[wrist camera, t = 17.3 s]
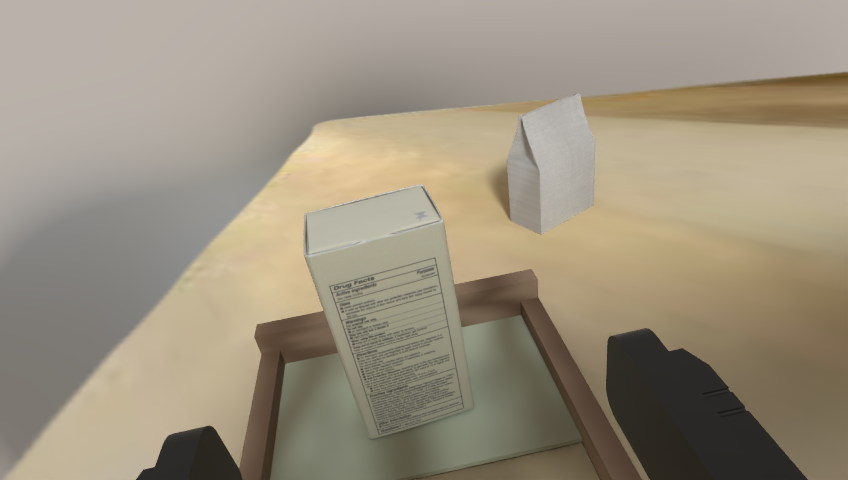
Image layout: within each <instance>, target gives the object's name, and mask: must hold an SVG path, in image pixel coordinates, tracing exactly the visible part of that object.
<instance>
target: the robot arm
mask: <svg viewBox="0 0 848 480" xmlns="http://www.w3.org/2000/svg"><path fill="white" fill-rule="evenodd" d="M606 391H607V397H608V401H609V404H610V407H611V410H612V412H613V415H614V417H615V419H616V421H617V422H618V424H619V426H620V428H621V429H622V431H623V433H624V435H625V436H626V438H627V440H628V442H629V443H630V445H631V447H632V449H633V451H634V452H635V454H636V456H637V458H638V459H639V461H640V463H641V465H642V466H643V468H644V470H645V472H646V473H647V475H648V477H649V479H650V480H808V479H807V478H806V477H805V476H804V475H803V474H802V472H801V471H800V470H799V469H798V468H797V467H796V465H795V464H794V463H793V462H792V461H791V460H790V459H789V457H788V456H787V455H786V454H785V453H784V452H783V450H782V449H781V448H780V447H779V446H778V445H777V443H776V442H775V441H774V440H773V439H772V438H771V436H770V435H769V434H768V433H767V432H766V431H765V429H764V428H763V427H762V426H761V425H760V424H759V422H758V421H757V420H756V419H755V418H754V417H753V415H752V414H751V413H750V412H749V411H746V410H745V406H744V405H743V404H742V403H741V402H740V400H739V399H738V398H737V397H736V396H735V395H734V393H733V392H730V391H729V389H728V386H727V385H726V384H725V383H724V382H723V381H722V379H721V378H720V377H719V376H718V375H717V374H716V372H715V371H714V370H713V369H712V368H711V367H710V365H708V364H707V363H705V362H703V361H702V360H700V359H699V358H697V357H696V356H694V355H692V354H691V353H689V352H688V351H686V350H684V349H683V348H682V349H678V350H673V351H668V350H667V349H666V347H665V346H664V345H663V344H662V342H661V341H660V340H659V338H658V337H657V336H656V335H655V334H654V332H652V331H651V330H650V329H647V328H645V329H640V330H636V331H632V332H627V333H623V334H618V335H614V336H610V337H609V339H608V345H607V376H606ZM136 480H243V479H242V475H241V472H240V470H239V468H238V467H237V465H236V463H235V462H234V460H233V458H232V457H231V455H230V453H229V452H228V450H227V448H226V446H225V445H224V443H223V441H222V440H221V438H220V436H219V435H218V433H217V431H216V430H215V429H214V428H213V427H212V426H206V427H201V428H197V429H192V430H188V431H183V432H179V433H175V434H171V435H169V436H168V437H167V438H166V440H165V441H164V443H163V446H162V449H161V452H160V454H159V457H158V460H157V463H156V466H155V467H153V468H149V469H145V470H143V471H142V472H141V474H140V475H139V476H138V478H137V479H136Z"/></svg>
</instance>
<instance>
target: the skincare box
mask: <svg viewBox="0 0 848 480" xmlns="http://www.w3.org/2000/svg"><path fill="white" fill-rule="evenodd" d="M304 257H305V259H306V262H307V265H308V268H309V270H310V273H311V276H312V279H313V282H314V284H315V287H316V290H317V293H318V296H319V299H320V302H321V305H322V307H323V310H324V313H325V316H326V319H327V322H328V325H329V327H330V330H331V333H332V336H333V339H334V342H335V345H336V348H337V351H338V353H339V356H340V359H341V362H342V365H343V368H344V370H345V373H346V376H347V379H348V382H349V385H350V388H351V390H352V394H353V397H354V400H355V403H356V405H357V408H358V411H359V414H360V416H361V419H362V422H363V425H364V428H365V431H366V434H367V436H368V438H370V439H375V438H378V437H382V436H386V435H389V434H392V433H396V432H399V431H403V430H406V429H409V428H413V427H416V426H419V425H422V424H425V423H429V422H432V421H435V420H438V419H441V418H444V417H448V416H451V415H454V414H457V413H459V412H463V411H466V410H469V409H471V408H473V407H474V400H473V394H472V388H471V382H470V376H469V369H468V364H467V357H466V351H465V346H464V339H463V333H462V328H461V322H460V316H459V310H458V304H457V298H456V292H455V286H454V280H453V274H452V269H451V263H450V257H449V251H448V245H447V238H446V232H445V226H444V221H443V218H442V216H441V214H440V212H439V211H438V209H437V207H436V205H435V203H434V201H433V200H432V198H431V196H430V195H429V193H428V191H427V190H426V189H425V187H424V186H423V185H421V184H420V185H415V186H412V187H407V188H403V189H399V190H396V191H391V192H386V193H383V194H379V195H375V196H371V197H366V198H363V199H359V200H355V201H351V202H348V203H343V204H339V205H335V206H332V207H328V208H324V209H321V210H316V211H312V212H308V213H305V215H304Z"/></svg>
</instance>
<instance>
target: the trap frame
mask: <svg viewBox="0 0 848 480" xmlns="http://www.w3.org/2000/svg"><path fill="white" fill-rule="evenodd" d="M454 286H455V292H456V298H457V304H458V310H459V316H460V322H461V328H462V333H463V339H464V346H465V351H466V357H467V364H468V369H469V376H470V382H471V388H472V394H473V400H474V407H473V408H471V409H469V410H466V411H463V412H459V413H457V414H454V415H451V416H448V417H444V418H441V419H438V420H435V421H432V422H429V423H425V424H422V425H419V426H416V427H413V428H409V429H406V430H403V431H399V432H396V433H392V434H389V435H386V436H382V437H378V438H375V439H370V438H368V436H367V434H366V431H365V428H364V425H363V422H362V419H361V416H360V414H359V411H358V408H357V405H356V403H355V400H354V397H353V394H352V390H351V388H350V385H349V382H348V379H347V376H346V373H345V370H344V368H343V365H342V362H341V359H340V356H339V353H338V351H337V348H336V345H335V342H334V339H333V336H332V333H331V330H330V327H329V325H328V322H327V319H326V316H325V313H324V311H322V312H317V313H312V314H307V315H302V316H297V317H292V318H287V319H282V320H277V321H272V322H267V323H262V324H258V325H257V327H256V332H255V336H254V337H255V339H256V342H257V344H258V347H259V349H260V352H261V354H262V355H261V360H260V365H259V370H258V375H257V381H256V386H255V391H254V396H253V401H252V406H251V411H250V417H249V422H248V427H247V432H246V437H245V442H244V447H243V453H242V458H241V463H240V468H239V470H240V472H241V475H242V479H243V480H413V479H417V478H422V477H426V476H431V475H435V474H440V473H444V472H449V471H453V470H458V469H462V468H467V467H471V466H476V465H480V464H485V463H490V462H494V461H499V460H503V459H508V458H512V457H517V456H521V455H526V454H530V453H535V452H539V451H544V450H548V449H553V448H557V447H562V446H566V445H571V444H575V443H580V442H582V443H583V445H584V447H585V449H586V451H587V453H588V455H589V457H590V459H591V461H592V463H593V465H594V467H595V469H596V471H597V473H598V475H599V477H600V479H601V480H642V479H641V478H640V476H639V474H638V472H637V471H636V469H635V467H634V465H633V464H632V462H631V460H630V458H629V457H628V455H627V453H626V451H625V449H624V448H623V446H622V444H621V442H620V441H619V439H618V437H617V435H616V434H615V432H614V430H613V428H612V427H611V425H610V423H609V421H608V420H607V418H606V416H605V414H604V413H603V411H602V409H601V407H600V405H599V404H598V402H597V400H596V398H595V397H594V395H593V393H592V391H591V390H590V388H589V386H588V384H587V383H586V381H585V379H584V377H583V376H582V374H581V372H580V370H579V369H578V367H577V365H576V363H575V361H574V360H573V358H572V356H571V354H570V353H569V351H568V349H567V347H566V346H565V344H564V342H563V340H562V339H561V337H560V335H559V333H558V332H557V330H556V328H555V326H554V325H553V323H552V321H551V319H550V317H549V316H548V314H547V312H546V310H545V309H544V307H543V305H542V303H541V302H540V300H539V298H538V279H537V277H536V276H535V274H534V272H533V271H532V269H529V270H524V271H519V272H515V273H510V274H505V275H500V276H495V277H490V278H485V279H480V280H475V281H470V282H465V283H460V284H455V285H454Z"/></svg>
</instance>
